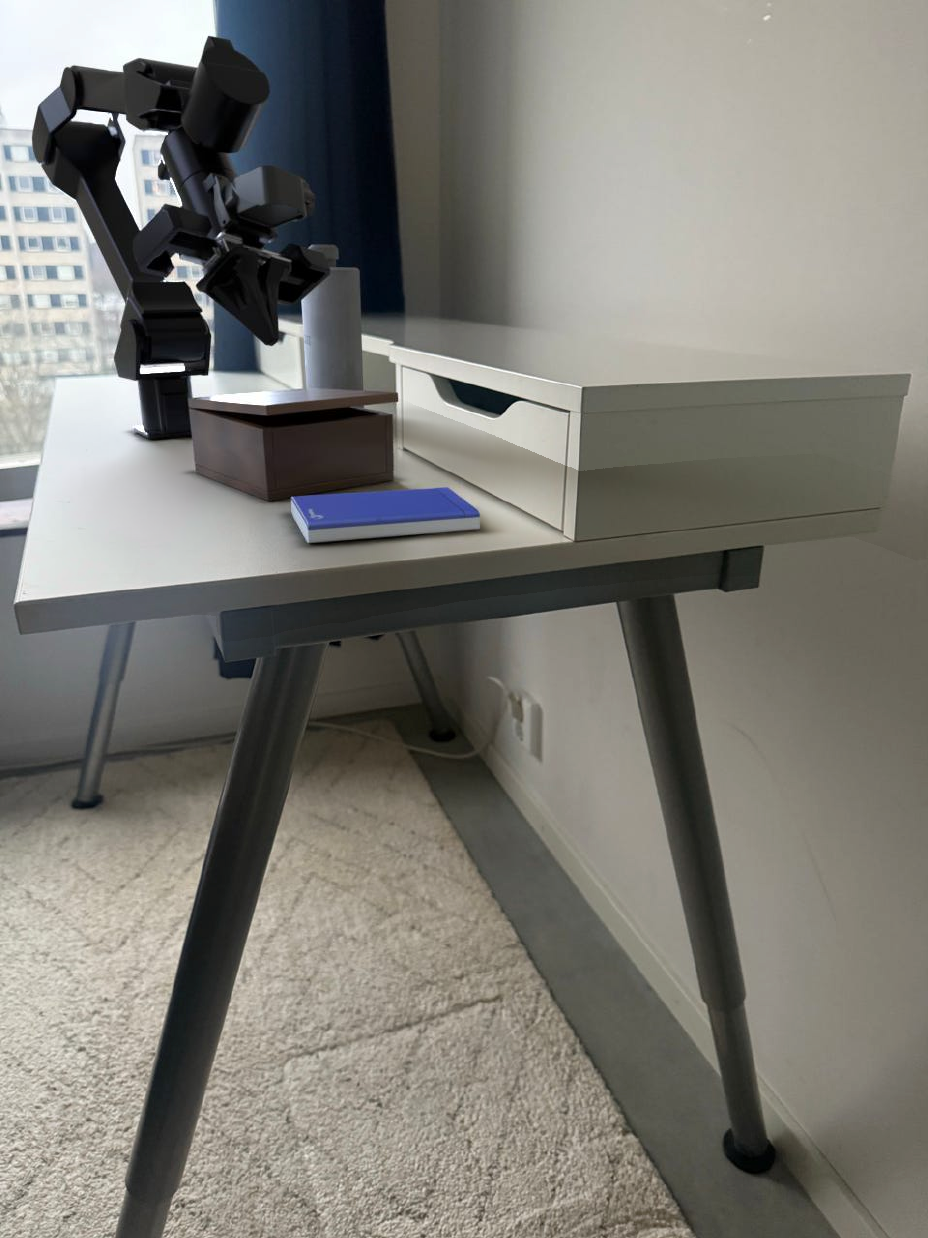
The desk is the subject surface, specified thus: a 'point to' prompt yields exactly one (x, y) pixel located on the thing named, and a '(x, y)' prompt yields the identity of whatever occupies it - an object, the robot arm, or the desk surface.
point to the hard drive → (382, 514)
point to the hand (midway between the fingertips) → (272, 343)
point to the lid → (292, 400)
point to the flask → (333, 328)
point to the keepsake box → (293, 450)
